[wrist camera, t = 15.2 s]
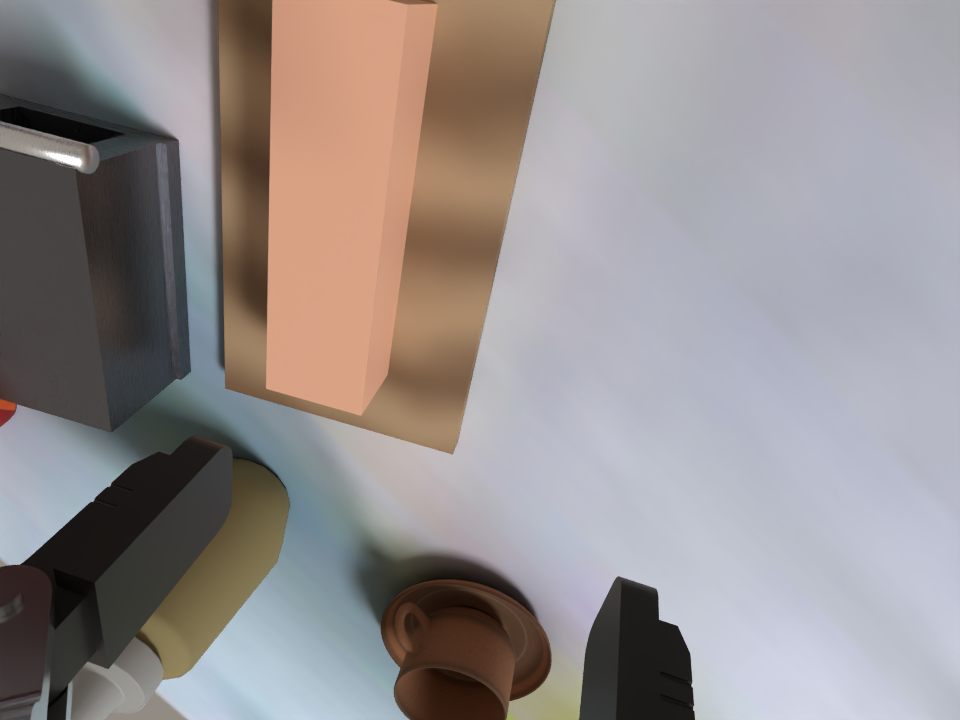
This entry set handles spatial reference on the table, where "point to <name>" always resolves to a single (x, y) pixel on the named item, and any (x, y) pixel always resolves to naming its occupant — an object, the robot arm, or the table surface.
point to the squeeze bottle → (194, 600)
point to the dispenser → (89, 265)
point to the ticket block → (341, 189)
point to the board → (433, 211)
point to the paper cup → (6, 411)
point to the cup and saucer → (462, 650)
